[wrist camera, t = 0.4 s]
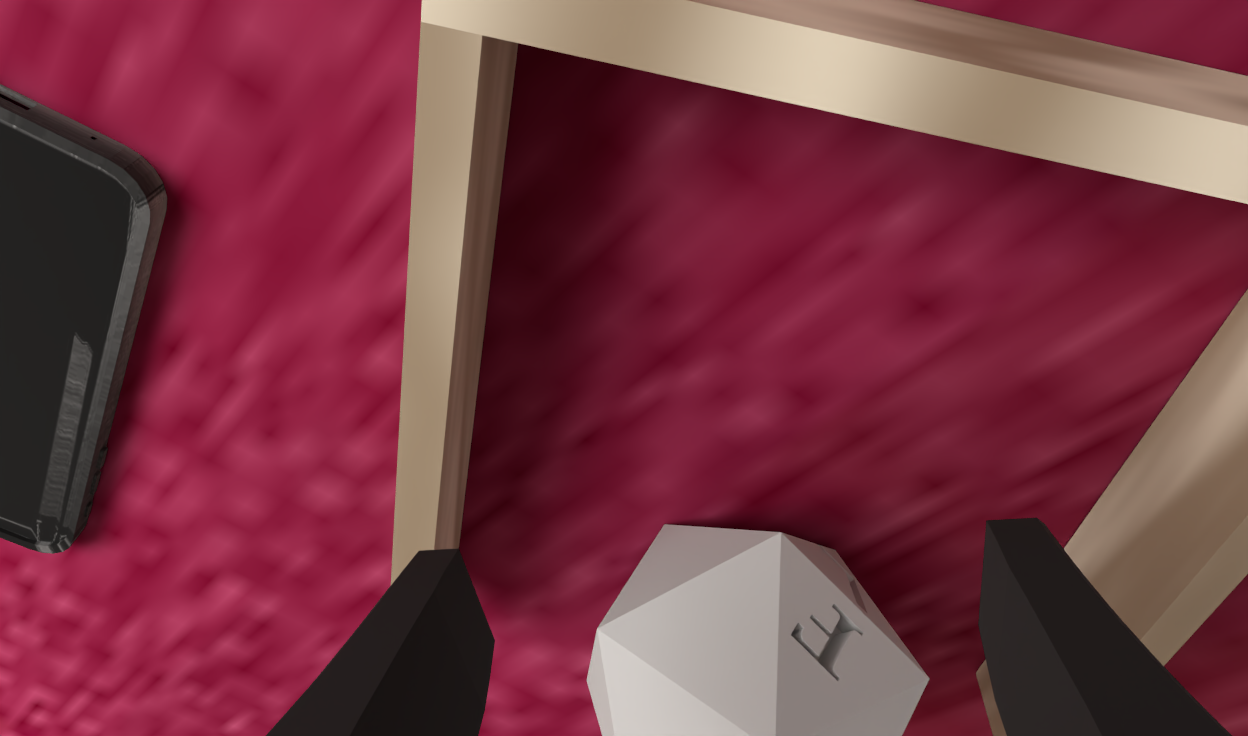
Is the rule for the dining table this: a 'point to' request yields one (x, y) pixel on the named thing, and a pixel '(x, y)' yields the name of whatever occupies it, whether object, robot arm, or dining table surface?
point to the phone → (65, 310)
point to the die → (748, 644)
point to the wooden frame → (880, 92)
